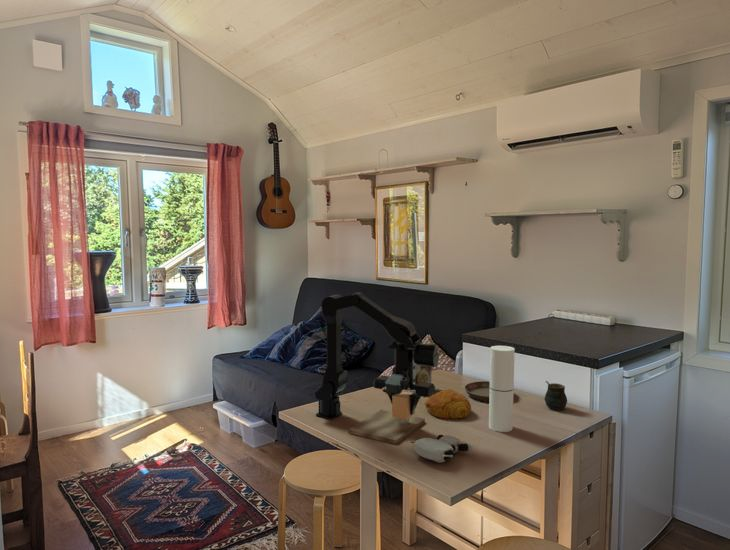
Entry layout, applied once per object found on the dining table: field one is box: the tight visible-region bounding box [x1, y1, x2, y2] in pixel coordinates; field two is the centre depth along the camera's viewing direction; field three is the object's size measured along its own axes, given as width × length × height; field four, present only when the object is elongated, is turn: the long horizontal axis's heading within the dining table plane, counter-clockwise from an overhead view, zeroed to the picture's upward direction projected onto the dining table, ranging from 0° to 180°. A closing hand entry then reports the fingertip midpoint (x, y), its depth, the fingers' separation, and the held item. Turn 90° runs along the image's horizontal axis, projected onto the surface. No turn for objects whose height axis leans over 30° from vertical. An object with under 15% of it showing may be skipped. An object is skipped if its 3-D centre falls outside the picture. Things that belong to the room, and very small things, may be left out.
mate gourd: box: [544, 380, 568, 411], centre depth 182 cm, size 7×8×10 cm
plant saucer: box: [463, 380, 490, 402], centre depth 196 cm, size 18×18×3 cm
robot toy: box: [407, 434, 474, 464], centre depth 145 cm, size 12×4×15 cm
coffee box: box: [406, 351, 432, 393], centre depth 204 cm, size 9×6×16 cm
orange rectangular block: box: [391, 391, 416, 420], centre depth 165 cm, size 5×5×7 cm
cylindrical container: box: [488, 345, 516, 433], centre depth 164 cm, size 7×7×25 cm
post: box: [398, 418, 409, 425], centre depth 165 cm, size 3×3×7 cm
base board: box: [348, 409, 426, 445], centre depth 165 cm, size 16×20×1 cm
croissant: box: [424, 389, 472, 420], centre depth 179 cm, size 14×16×8 cm
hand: (403, 412), depth 165 cm, fingers closed on orange rectangular block, 5 cm apart
